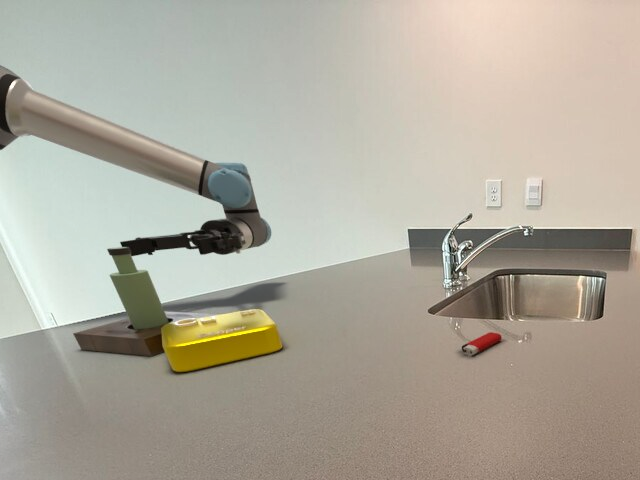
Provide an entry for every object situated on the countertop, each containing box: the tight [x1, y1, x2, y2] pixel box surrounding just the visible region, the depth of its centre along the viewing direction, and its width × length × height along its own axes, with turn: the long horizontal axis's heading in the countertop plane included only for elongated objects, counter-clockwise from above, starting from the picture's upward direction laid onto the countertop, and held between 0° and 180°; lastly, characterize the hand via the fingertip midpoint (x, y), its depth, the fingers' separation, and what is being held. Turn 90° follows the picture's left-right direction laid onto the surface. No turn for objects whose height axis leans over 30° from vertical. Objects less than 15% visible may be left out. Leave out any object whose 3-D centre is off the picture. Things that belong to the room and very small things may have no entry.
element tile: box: [161, 308, 283, 373], centre depth 68 cm, size 15×15×5 cm
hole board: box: [72, 310, 220, 357], centre depth 74 cm, size 16×14×3 cm
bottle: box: [106, 246, 169, 329], centre depth 71 cm, size 5×5×16 cm
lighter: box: [461, 331, 503, 357], centre depth 66 cm, size 3×1×8 cm
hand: (162, 248), depth 77 cm, fingers open, 13 cm apart
